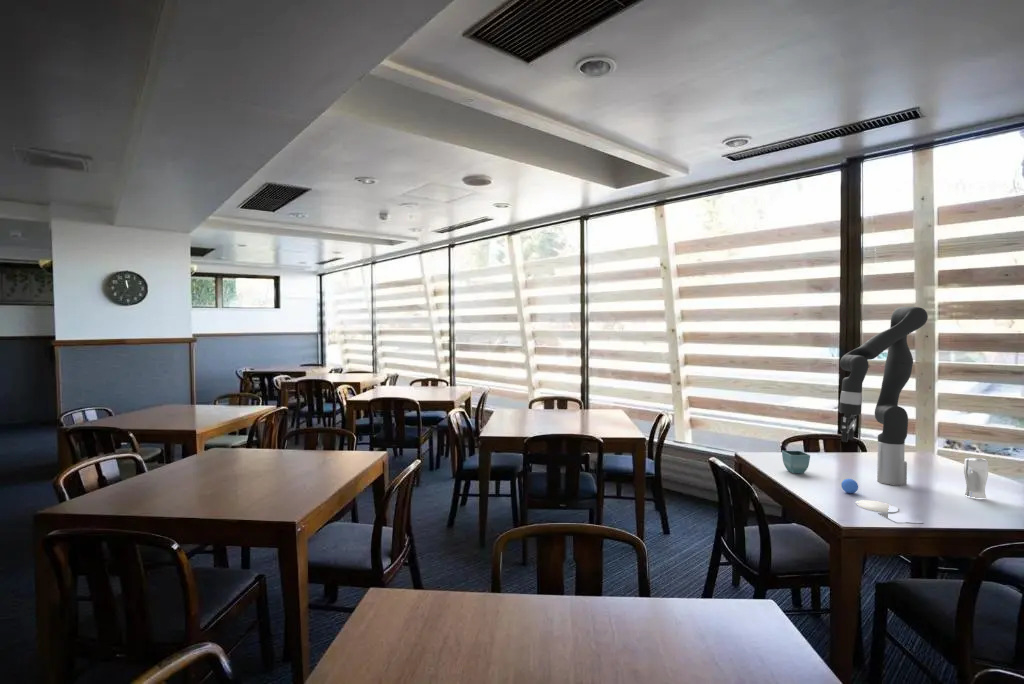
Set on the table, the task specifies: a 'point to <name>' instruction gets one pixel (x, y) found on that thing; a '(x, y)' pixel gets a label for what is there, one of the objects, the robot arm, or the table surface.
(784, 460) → the flower pot
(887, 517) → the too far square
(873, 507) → the disc
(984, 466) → the beer glass
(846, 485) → the ball
